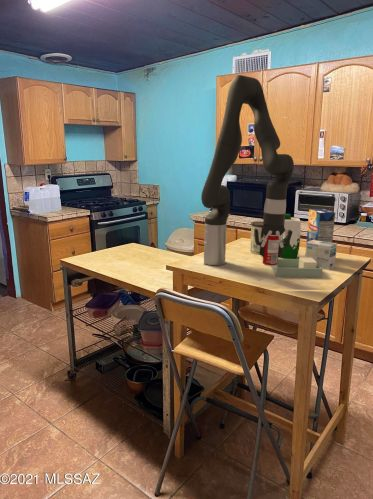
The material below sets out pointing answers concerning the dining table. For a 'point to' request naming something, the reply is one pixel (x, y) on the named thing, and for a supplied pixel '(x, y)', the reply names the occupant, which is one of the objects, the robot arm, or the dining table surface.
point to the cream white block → (307, 263)
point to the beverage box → (320, 225)
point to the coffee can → (253, 246)
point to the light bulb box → (322, 253)
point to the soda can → (271, 251)
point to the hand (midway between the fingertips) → (270, 256)
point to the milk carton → (294, 243)
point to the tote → (294, 269)
